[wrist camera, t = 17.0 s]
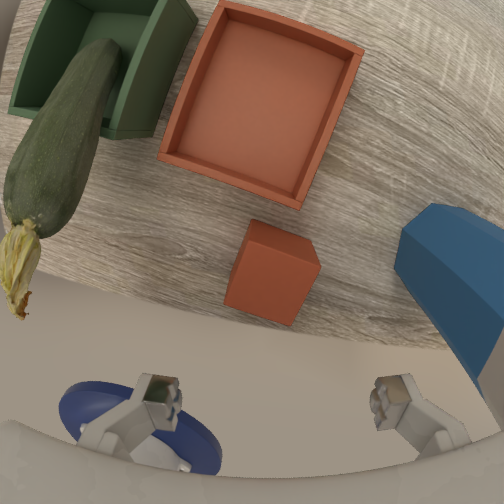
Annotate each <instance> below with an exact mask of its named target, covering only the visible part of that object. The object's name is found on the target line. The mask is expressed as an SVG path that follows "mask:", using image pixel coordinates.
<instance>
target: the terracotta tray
mask: <svg viewBox="0 0 504 504" xmlns="http://www.w3.org/2000/svg"><path fill="white" fill-rule="evenodd" d="M364 52H365V50H363V49H361V48H359V47H357V46H355V45H353V44H351V43H349V42H347V41H345V40H342V39H340V38H338V37H336V36H333V35H331V34H329V33H326V32H324V31H322V30H319V29H317V28H314V27H312V26H309V25H306V24H304V23H301V22H298V21H295V20H293V19H290V18H287V17H284V16H281V15H278V14H274V13H271V12H268V11H264V10H261V9H258V8H254V7H250V6H246V5H242V4H238V3H234V2H230V1H226V0H219V2H218V4H217V6H216V8H215V10H214V12H213V14H212V16H211V18H210V21H209V23H208V25H207V27H206V29H205V31H204V33H203V36H202V38H201V40H200V42H199V44H198V47H197V49H196V51H195V54H194V56H193V58H192V61H191V63H190V66H189V68H188V71H187V73H186V75H185V78H184V81H183V83H182V86H181V88H180V91H179V94H178V96H177V99H176V102H175V104H174V107H173V110H172V113H171V116H170V119H169V121H168V124H167V127H166V130H165V133H164V136H163V139H162V143H161V146H160V149H159V152H158V156H157V160H159V161H162V162H166V163H169V164H172V165H175V166H178V167H181V168H184V169H187V170H190V171H193V172H195V173H198V174H201V175H204V176H207V177H210V178H213V179H216V180H218V181H221V182H224V183H227V184H230V185H232V186H235V187H238V188H241V189H243V190H246V191H249V192H251V193H254V194H257V195H259V196H262V197H265V198H267V199H270V200H272V201H275V202H278V203H280V204H283V205H285V206H288V207H290V208H293V209H296V210H298V211H300V209H301V207H302V204H303V202H304V200H305V197H306V195H307V193H308V190H309V188H310V186H311V183H312V181H313V179H314V176H315V174H316V171H317V169H318V167H319V164H320V162H321V159H322V157H323V155H324V152H325V150H326V147H327V145H328V142H329V140H330V138H331V135H332V133H333V130H334V128H335V125H336V123H337V120H338V118H339V115H340V113H341V110H342V108H343V105H344V103H345V100H346V98H347V95H348V93H349V90H350V88H351V85H352V83H353V80H354V78H355V75H356V72H357V70H358V67H359V65H360V62H361V59H362V57H363V54H364Z"/></svg>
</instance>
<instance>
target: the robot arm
mask: <svg viewBox="0 0 504 504" xmlns="http://www.w3.org/2000/svg"><path fill="white" fill-rule="evenodd" d="M178 386H179V381H178V378H175V377H167V376H160V375H153V374H146V373H142V374H141V376H140V377H139V379H138V382H137V384H136V386H135V388H134V390H133V393H132V395H131V397H130V399H129V400H125V401H123V402H122V403H120V404H118V405H117V406H115V407H114V408H112V409H111V410H109V411H107V412H106V413H104V414H103V415H101V416H99V417H98V418H96V419H95V420H93V421H91V422H90V423H88V424H86V423H82V424H81V427H80V431H81V433H82V434H81V436H80V438H79V440H78V442H77V444H76V445H73V444H70V443H67V442H64V441H62V440H59V439H56V438H54V437H51V436H49V435H46V434H44V433H42V432H40V431H37V430H35V429H33V428H30V427H28V426H26V425H24V424H22V423H20V422H18V421H15V420H8V421H5V422H2V423H0V504H504V430H502V431H500V432H498V433H496V434H493V435H491V436H488V437H486V438H484V439H481V440H479V441H476V442H473V443H472V441H471V439H470V437H469V435H468V432H467V430H466V428H465V426H464V424H463V423H462V422H461V421H459V420H457V419H456V418H454V417H453V416H451V415H450V414H448V413H447V412H445V411H444V410H442V409H441V408H439V407H438V406H436V405H434V404H433V403H431V402H430V401H428V400H427V399H423V398H422V396H421V393H420V391H419V389H418V387H417V385H416V383H415V381H414V379H413V377H412V375H411V374H410V373H409V374H402V375H395V376H386V377H378V378H377V379H376V381H375V387H376V388H375V389H374V390H373V391H372V392H371V395H370V407H371V411H372V412H373V413H374V414H376V416H375V418H374V421H375V425H376V428H377V431H381V430H388V429H394V428H396V429H395V430H396V431H397V432H398V433H400V434H401V435H402V436H403V437H404V438H405V439H406V440H407V441H408V442H409V443H410V444H411V445H412V446H413V447H414V448H415V449H416V450H417V451H419V453H420V454H419V455H418V457H417V458H416V459H415V461H412V462H408V463H403V464H399V465H394V466H389V467H384V468H379V469H373V470H367V471H362V472H355V473H347V474H339V475H328V476H316V477H301V478H300V477H299V478H243V477H242V478H241V477H226V476H214V475H205V474H196V473H188V472H190V470H191V467H192V465H191V464H189V463H188V462H186V461H185V460H183V459H181V458H180V457H179V456H178V455H177V454H176V453H175V451H174V450H173V449H172V448H171V447H169V446H168V445H167V444H165V443H164V442H163V441H161V440H159V439H158V438H156V437H154V436H152V435H151V434H152V433H153V432H154V431H155V429H158V430H165V431H173V432H175V429H176V425H177V422H178V418H177V414H178V413H179V412H180V411H181V407H182V393H181V390H179V389H178Z"/></svg>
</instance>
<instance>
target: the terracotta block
mask: <svg viewBox="0 0 504 504" xmlns="http://www.w3.org/2000/svg"><path fill="white" fill-rule="evenodd" d="M320 269H321V265H320V262H319V260H318V257H317V255H316V252H315V250H314V247H313V245H312V242H311V241H310V240H308V239H305V238H302V237H300V236H297V235H295V234H292V233H289V232H287V231H284V230H282V229H279V228H276V227H274V226H271V225H268V224H266V223H263V222H260V221H258V220H255V219H251V222H250V224H249V227H248V230H247V232H246V235H245V237H244V240H243V242H242V245H241V248H240V250H239V253H238V255H237V258H236V260H235V263H234V266H233V268H232V271H231V274H230V278H229V282H228V286H227V290H226V295H225V299H224V305H227V306H230V307H232V308H235V309H238V310H241V311H244V312H247V313H250V314H253V315H256V316H259V317H262V318H265V319H268V320H271V321H275V322H278V323H281V324H284V325H287V326H291V325H292V323H293V321H294V319H295V317H296V315H297V313H298V312H299V310H300V308H301V306H302V304H303V302H304V300H305V298H306V296H307V294H308V293H309V291H310V289H311V287H312V285H313V283H314V281H315V279H316V277H317V275H318V273H319V271H320Z"/></svg>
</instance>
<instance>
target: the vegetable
mask: <svg viewBox="0 0 504 504" xmlns="http://www.w3.org/2000/svg"><path fill="white" fill-rule="evenodd" d="M122 59H123V56H122V50H121V47H120V46H119V45H118V44H117V43H116V42H115V41H114V40H113V39H111V38H108V39H97V40H94V41H93V42H91V43H90V44H88V45H86V46H85V47H84V48H83V49H82V50H81V51H80V52H79V53H77V54H76V55H75V57H74V58H73V59H72V61H71V62H70V64H69V65H68V67H67V69H66V71H65V73H64V74H63V76H62V78H61V79H60V81H59V82H58V84H57V85H56V87H55V88H54V90H53V91H52V93H51V95H50V96H49V98H48V99H47V101H46V102H45V104H44V106H43V107H42V108H41V110H40V111H39V112H38V114H37V115H36V117H35V118H34V120H33V121H32V123H31V125H30V127H29V129H28V130H27V132H26V134H25V136H24V138H23V139H22V141H21V143H20V144H19V146H18V148H17V150H16V152H15V153H14V156H13V158H12V160H11V162H10V165H9V167H8V170H7V173H6V177H5V183H4V192H3V200H4V208H5V212H6V214H7V216H8V218H9V220H10V222H11V226H12V228H11V230H10V232H9V233H8V234H7V235H6V236H5V237H4V239H3V240H2V242H1V244H0V279H1V280H2V281H1V286H2V287H3V288H4V290H5V293H7V297H6V299H7V301H8V303H7V307H8V308H9V310H10V311H11V312H12V313H13V314H14V315H15V316H16V317H17V318H19V319H20V320H24V318H25V316H26V313H25V312H24V309H25V307H26V306H27V302H28V297H29V295H30V294H31V293H32V292H31V291H27V290H28V285H29V283H30V280H31V278H32V275H33V272H34V270H35V268H36V266H37V264H38V261H39V258H40V253H41V245H40V242H39V239H43V238H47V237H51V236H52V235H54V234H56V233H57V232H59V231H60V230H61V229H62V228H63V227H64V226H65V225H66V224H67V223H68V221H69V220H70V219H71V217H72V216H73V214H74V212H75V210H76V208H77V206H78V203H79V201H80V199H81V196H82V194H83V191H84V188H85V185H86V183H87V180H88V176H89V173H90V169H91V166H92V162H93V159H94V156H95V152H96V149H97V145H98V141H99V135H100V129H101V123H102V118H103V114H104V110H105V107H106V104H107V101H108V98H109V95H110V92H111V90H112V88H113V86H114V84H115V81H116V79H117V76H118V74H119V70H120V66H121V62H122ZM26 292H27V293H26ZM27 314H28V315H29V313H27Z"/></svg>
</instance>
